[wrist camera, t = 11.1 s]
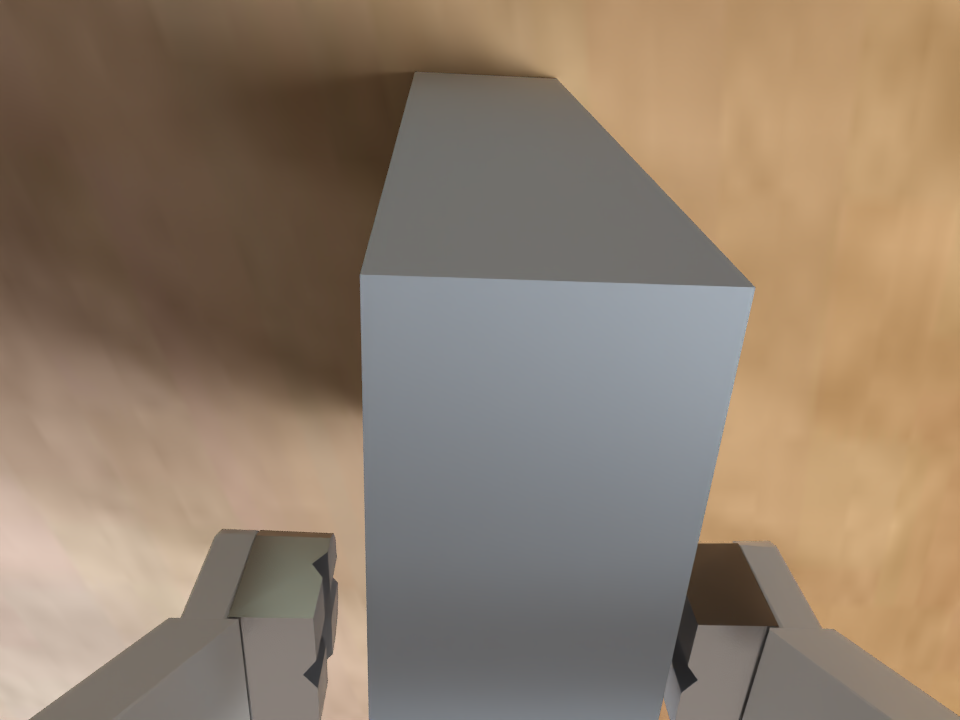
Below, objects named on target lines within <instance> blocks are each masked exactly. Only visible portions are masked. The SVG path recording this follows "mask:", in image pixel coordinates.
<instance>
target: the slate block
mask: <svg viewBox="0 0 960 720" xmlns="http://www.w3.org/2000/svg"><path fill="white" fill-rule="evenodd" d="M754 291H755V287H754V286H753V285H752V283H751V282H750V281H749V280H748V279H747V278H746V277H745V276H744V275H743V274H742V273H741V272H740V271H739V270H738V269H737V268H736V267H735V266H734V265H733V263H732V262H731V261H730V260H729V259H728V258H727V257H726V256H725V255H724V254H723V253H722V252H721V251H720V250H719V249H718V248H717V247H716V246H715V245H714V244H713V242H712V241H711V240H710V239H709V238H708V237H707V236H706V235H705V234H704V233H703V232H702V231H701V230H700V229H699V228H698V227H697V226H696V225H695V224H694V222H693V221H692V220H691V219H690V218H689V217H688V216H687V215H686V214H685V213H684V212H683V211H682V210H681V209H680V208H679V207H678V206H677V205H676V204H675V202H674V201H673V200H672V199H671V198H670V197H669V196H668V195H667V194H666V193H665V192H664V191H663V190H662V189H661V188H660V187H659V186H658V185H657V184H656V183H655V181H654V180H653V179H652V178H651V177H650V176H649V175H648V174H647V173H646V172H645V171H644V170H643V169H642V168H641V167H640V166H639V165H638V164H637V163H636V161H635V160H634V159H633V158H632V157H631V156H630V155H629V154H628V153H627V152H626V151H625V150H624V149H623V148H622V147H621V146H620V145H619V144H618V143H617V142H616V140H615V139H614V138H613V137H612V136H611V135H610V134H609V133H608V132H607V131H606V130H605V129H604V128H603V127H602V126H601V125H600V124H599V123H598V122H597V120H596V119H595V118H594V117H593V116H592V115H591V114H590V113H589V112H588V111H587V110H586V109H585V108H584V107H583V106H582V105H581V104H580V103H579V102H578V101H577V99H576V98H575V97H574V96H573V95H572V94H571V93H570V92H569V91H568V90H567V89H566V88H565V87H564V86H563V85H562V84H561V83H560V82H559V81H558V79H556V78H536V77H515V76H495V75H475V74H454V73H434V72H415V73H414V77H413V81H412V84H411V88H410V92H409V95H408V99H407V103H406V106H405V110H404V114H403V117H402V121H401V125H400V128H399V132H398V136H397V140H396V143H395V147H394V151H393V154H392V158H391V162H390V165H389V169H388V173H387V176H386V180H385V184H384V187H383V191H382V195H381V199H380V202H379V206H378V210H377V213H376V217H375V221H374V224H373V228H372V232H371V235H370V239H369V243H368V246H367V250H366V254H365V257H364V261H363V265H362V269H361V272H360V305H361V354H362V403H363V452H364V501H365V550H366V599H367V648H368V697H369V720H658V719H659V715H660V710H661V706H662V701H663V697H664V692H665V688H666V683H667V679H668V675H669V670H670V666H671V661H672V657H673V652H674V648H675V643H676V639H677V634H678V630H679V626H680V621H681V617H682V612H683V608H684V603H685V599H686V594H687V590H688V585H689V581H690V576H691V572H692V568H693V563H694V559H695V554H696V550H697V545H698V541H699V536H700V532H701V527H702V523H703V518H704V514H705V510H706V505H707V501H708V496H709V492H710V487H711V483H712V478H713V474H714V469H715V465H716V461H717V456H718V452H719V447H720V443H721V438H722V434H723V429H724V425H725V420H726V416H727V411H728V407H729V403H730V398H731V394H732V389H733V385H734V380H735V376H736V371H737V367H738V362H739V358H740V353H741V349H742V345H743V340H744V336H745V331H746V327H747V322H748V318H749V313H750V309H751V304H752V300H753V295H754Z"/></svg>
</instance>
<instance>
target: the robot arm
mask: <svg viewBox="0 0 960 720" xmlns="http://www.w3.org/2000/svg"><path fill="white" fill-rule="evenodd" d="M336 558H337V555H336V540H335V536H334V533H317V532H295V531H272V530H260V531H257V530H236V529H222V530H221V531H220V532H219V533H218V534H217V535H216V536H215V537H214V539H213V542H212V544H211V547H210V549H209V551H208V554H207V556H206V559H205V561H204V563H203V566H202V568H201V570H200V573H199V575H198V578H197V580H196V582H195V585H194V587H193V589H192V592H191V594H190V597H189V599H188V601H187V604H186V606H185V608H184V611H183V613H182V616H181V618H168V619H167V620H165V621H164V622H163V623H161V624H160V625H158V626H157V627H156V628H154V629H153V630H152V631H150V632H149V633H147V634H146V635H145V636H143V637H142V638H141V639H139V640H138V641H136V642H135V643H134V644H132V645H131V646H130V647H128V648H127V649H125V650H124V651H123V652H121V653H120V654H119V655H117V656H116V657H114V658H113V659H112V660H110V661H109V662H108V663H106V664H105V665H103V666H102V667H101V668H99V669H98V670H96V671H95V672H94V673H92V674H91V675H90V676H88V677H87V678H85V679H84V680H83V681H81V682H80V683H79V684H77V685H76V686H74V687H73V688H72V689H70V690H69V691H68V692H66V693H65V694H63V695H62V696H61V697H59V698H58V699H57V700H55V701H54V702H52V703H51V704H50V705H48V706H47V707H46V708H44V709H43V710H41V711H40V712H39V713H37V714H36V715H35V716H33V717H32V718H30V719H29V720H321V716H322V710H323V705H324V699H325V694H326V688H327V683H328V677H327V659H328V658H329V657H330V656H331V655H332V654H333V648H334V642H335V636H336V626H337V615H338V583H337V581H336V580H335V579H334V578H333V574H334V568H335V563H336ZM664 701H665V704H666V708H667V711H668V715H669V718H670V720H960V716H958V715H957V714H955V713H954V712H952V711H951V710H949V709H948V708H947V707H945V706H944V705H942V704H941V703H939V702H938V701H936V700H935V699H934V698H932V697H931V696H929V695H928V694H926V693H925V692H924V691H922V690H921V689H919V688H918V687H916V686H915V685H913V684H912V683H911V682H909V681H908V680H906V679H905V678H903V677H902V676H900V675H899V674H898V673H896V672H895V671H893V670H892V669H890V668H889V667H887V666H886V665H885V664H883V663H882V662H880V661H879V660H877V659H876V658H874V657H873V656H872V655H870V654H869V653H867V652H866V651H864V650H863V649H862V648H860V647H859V646H857V645H856V644H854V643H853V642H851V641H850V640H849V639H847V638H846V637H844V636H843V635H841V634H840V633H838V632H837V631H836V630H834V629H822V627H821V625H820V623H819V621H818V620H817V618H816V616H815V614H814V613H813V611H812V609H811V607H810V605H809V604H808V602H807V600H806V598H805V597H804V595H803V593H802V591H801V590H800V588H799V586H798V584H797V582H796V581H795V579H794V577H793V575H792V574H791V572H790V570H789V568H788V566H787V565H786V563H785V561H784V559H783V558H782V556H781V554H780V552H779V550H778V549H777V547H776V546H775V545H774V544H773V543H771V542H770V541H733V542H702V541H698V545H697V550H696V554H695V559H694V563H693V568H692V572H691V576H690V581H689V585H688V590H687V594H686V599H685V603H684V608H683V612H682V617H681V621H680V626H679V630H678V634H677V639H676V643H675V648H674V652H673V657H672V661H671V666H670V670H669V675H668V679H667V683H666V688H665V692H664Z"/></svg>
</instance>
